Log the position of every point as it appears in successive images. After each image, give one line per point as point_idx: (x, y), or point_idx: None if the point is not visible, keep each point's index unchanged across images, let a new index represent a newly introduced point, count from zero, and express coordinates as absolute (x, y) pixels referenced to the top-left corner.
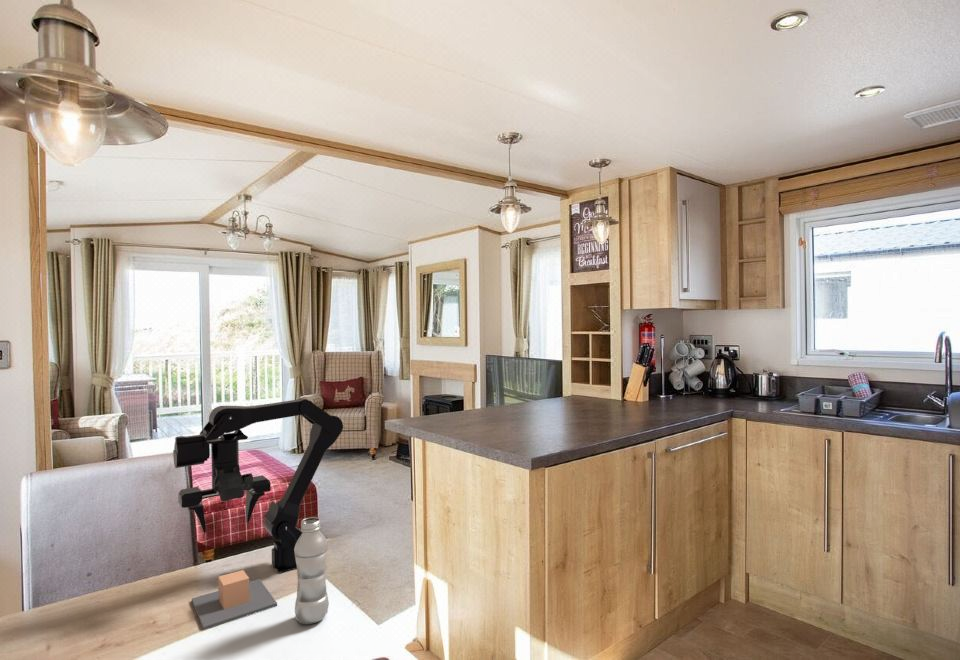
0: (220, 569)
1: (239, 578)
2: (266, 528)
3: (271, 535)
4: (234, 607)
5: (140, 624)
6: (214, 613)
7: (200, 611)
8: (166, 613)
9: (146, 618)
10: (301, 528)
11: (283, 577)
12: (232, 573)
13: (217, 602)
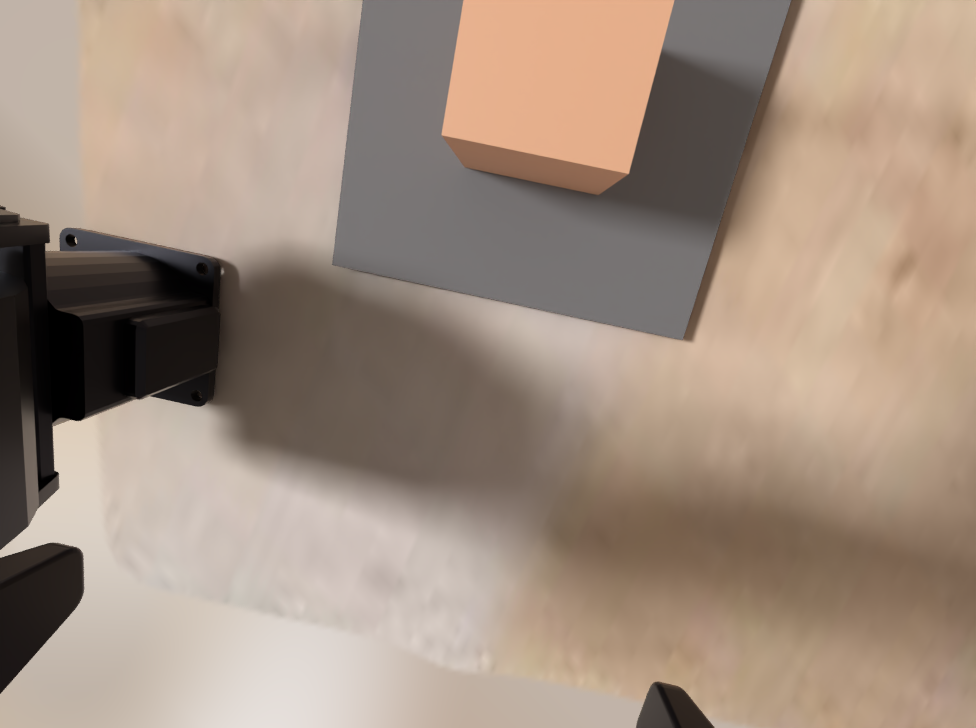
0: (425, 560)
1: None
2: (2, 486)
3: (27, 369)
4: None
5: (955, 302)
6: (694, 38)
7: (729, 139)
8: (819, 312)
9: (904, 342)
10: None
11: (221, 197)
12: (527, 142)
13: None
